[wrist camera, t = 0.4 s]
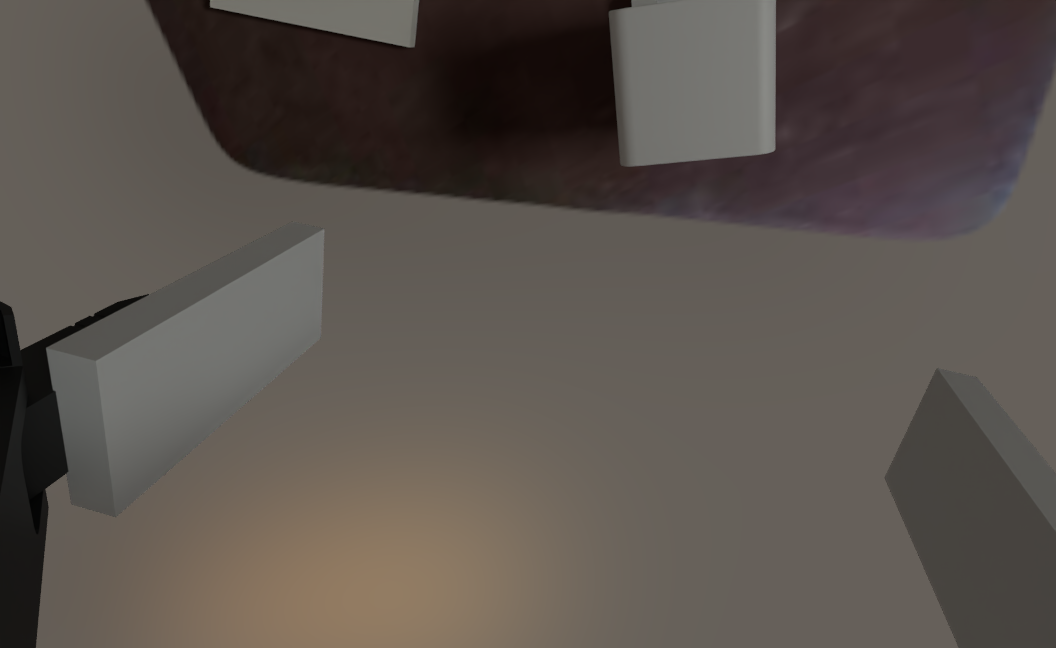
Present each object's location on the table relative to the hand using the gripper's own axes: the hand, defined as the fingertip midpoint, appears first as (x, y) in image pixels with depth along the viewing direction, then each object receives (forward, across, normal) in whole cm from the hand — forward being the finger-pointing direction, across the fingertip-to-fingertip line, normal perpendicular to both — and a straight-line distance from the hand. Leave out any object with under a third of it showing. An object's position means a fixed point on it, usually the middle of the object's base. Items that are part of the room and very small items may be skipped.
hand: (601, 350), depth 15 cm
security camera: (+26, +1, +5) cm, 27 cm away
